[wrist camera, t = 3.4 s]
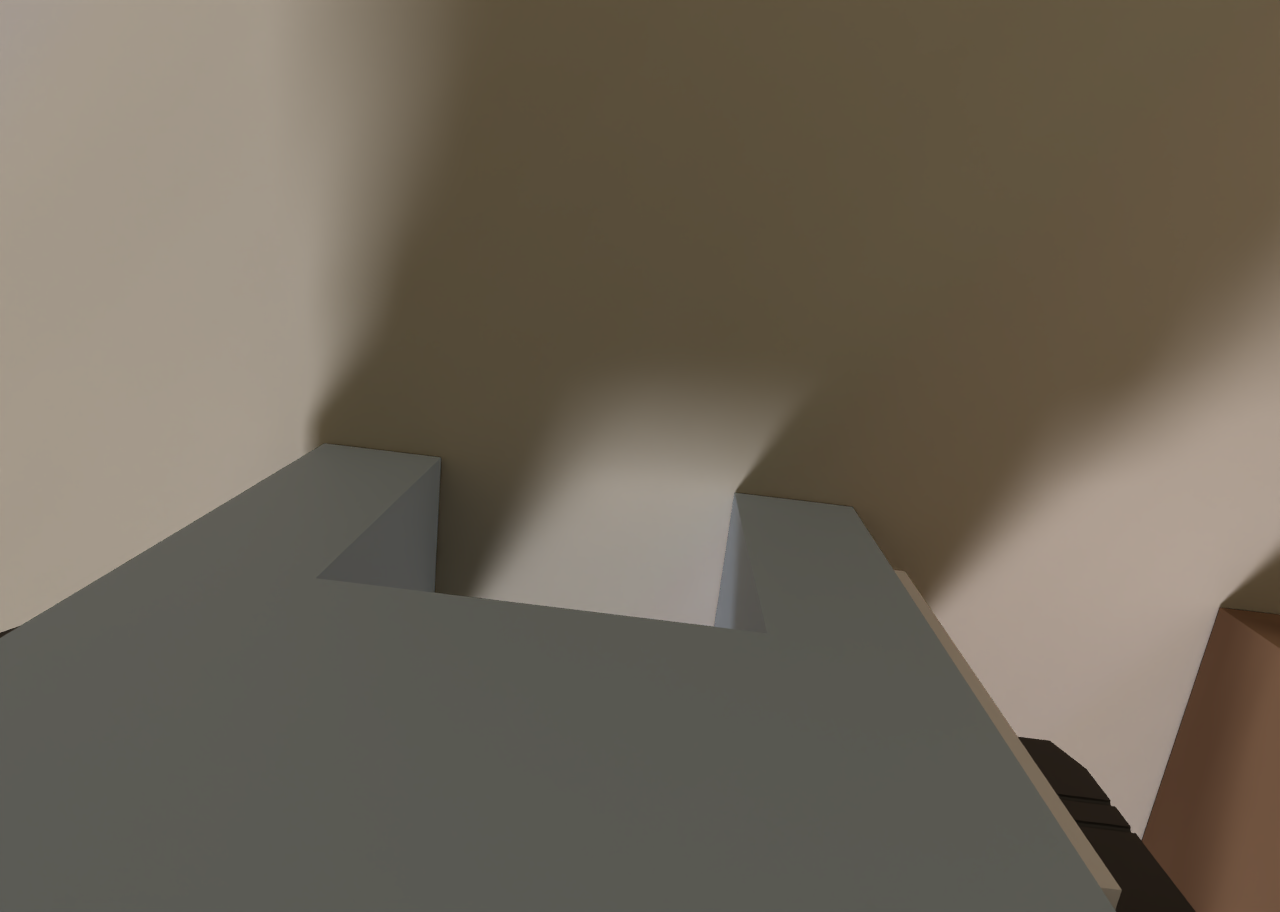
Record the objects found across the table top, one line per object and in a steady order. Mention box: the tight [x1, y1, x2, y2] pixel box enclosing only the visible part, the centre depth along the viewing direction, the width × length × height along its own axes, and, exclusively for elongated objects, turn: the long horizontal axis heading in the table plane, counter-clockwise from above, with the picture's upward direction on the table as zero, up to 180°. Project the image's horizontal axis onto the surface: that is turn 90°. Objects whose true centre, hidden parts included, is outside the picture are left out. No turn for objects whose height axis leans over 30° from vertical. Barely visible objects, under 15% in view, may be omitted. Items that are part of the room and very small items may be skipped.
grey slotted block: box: [0, 443, 1116, 912], centre depth 9 cm, size 9×4×10 cm, turn 84°
